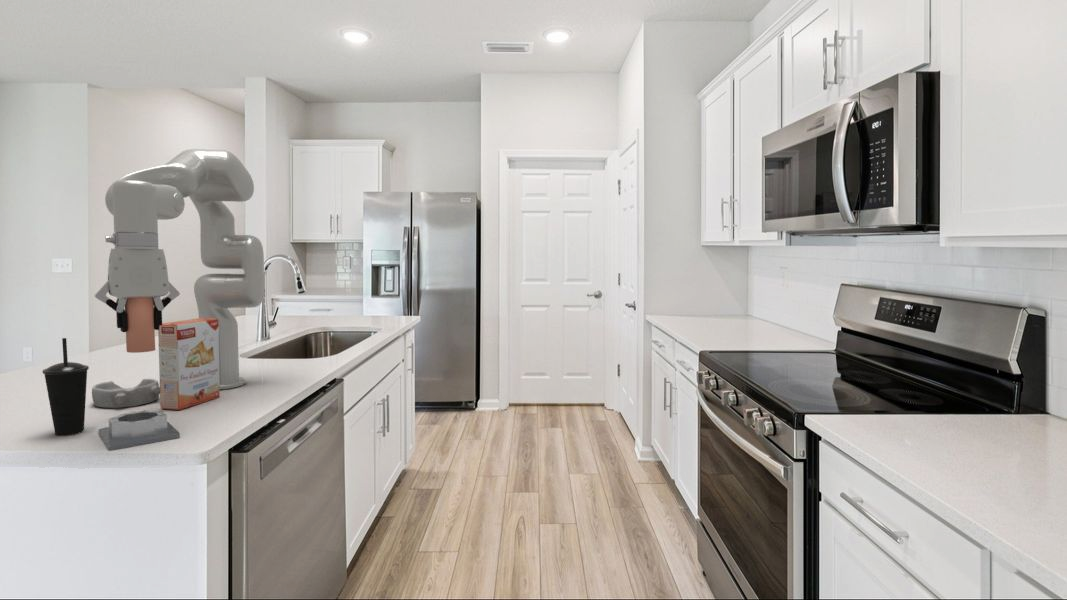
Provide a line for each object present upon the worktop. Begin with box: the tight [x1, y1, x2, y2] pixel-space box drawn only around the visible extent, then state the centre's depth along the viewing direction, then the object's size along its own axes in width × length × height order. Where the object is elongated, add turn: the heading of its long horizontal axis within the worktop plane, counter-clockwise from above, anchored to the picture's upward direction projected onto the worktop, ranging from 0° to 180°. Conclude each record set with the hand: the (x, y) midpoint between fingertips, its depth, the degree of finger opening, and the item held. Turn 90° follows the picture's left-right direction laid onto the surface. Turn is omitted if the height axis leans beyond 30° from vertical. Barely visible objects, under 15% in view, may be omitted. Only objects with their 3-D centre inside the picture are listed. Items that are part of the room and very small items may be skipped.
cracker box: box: [157, 317, 221, 411], centre depth 151 cm, size 14×6×21 cm, turn 168°
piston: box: [124, 297, 156, 354], centre depth 124 cm, size 5×5×13 cm
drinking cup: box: [42, 337, 90, 437], centre depth 126 cm, size 8×8×20 cm
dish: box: [91, 378, 160, 409], centre depth 151 cm, size 14×14×5 cm
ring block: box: [97, 409, 181, 451], centre depth 125 cm, size 14×12×4 cm
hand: (140, 329), depth 125 cm, fingers closed on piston, 5 cm apart
